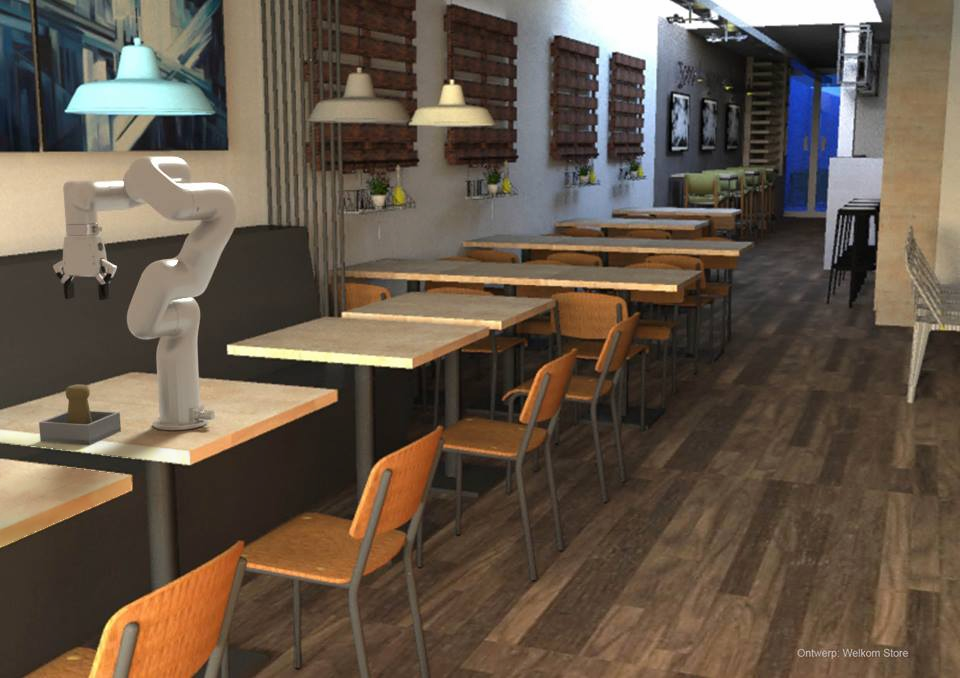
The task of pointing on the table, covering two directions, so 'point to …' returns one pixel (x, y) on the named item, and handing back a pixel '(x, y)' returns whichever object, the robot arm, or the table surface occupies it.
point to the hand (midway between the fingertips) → (86, 298)
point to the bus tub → (80, 428)
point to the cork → (78, 404)
